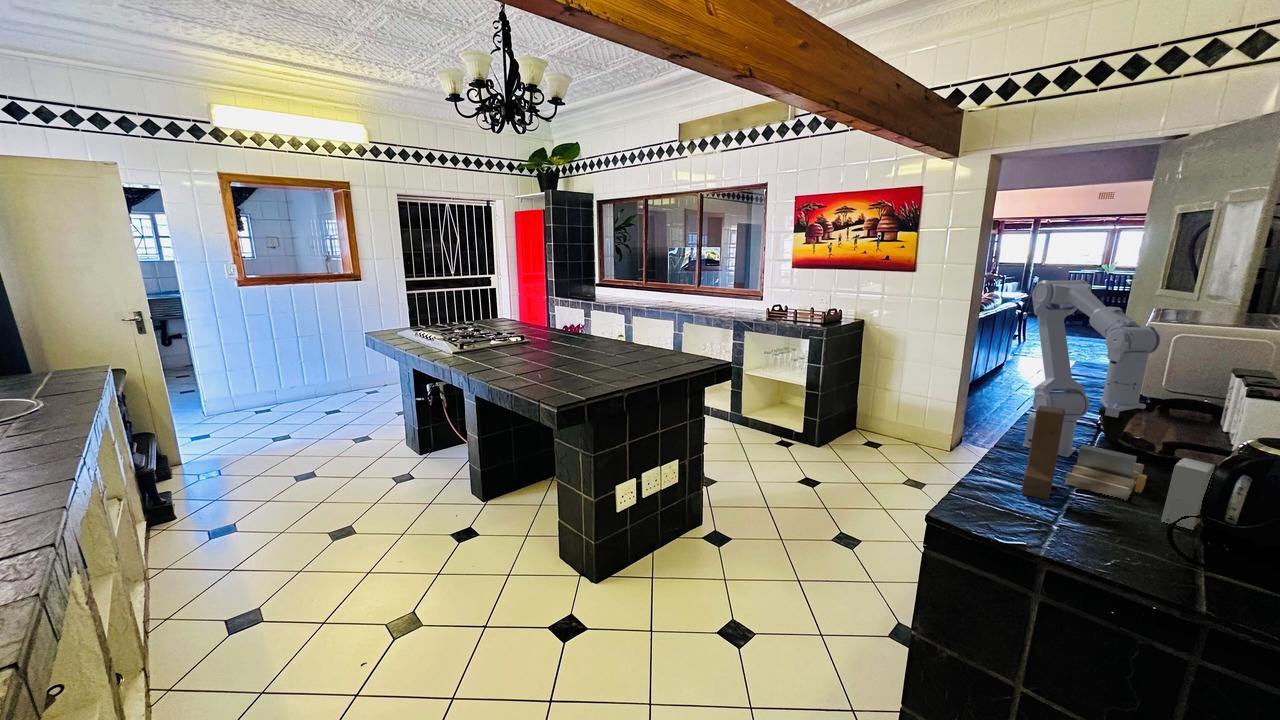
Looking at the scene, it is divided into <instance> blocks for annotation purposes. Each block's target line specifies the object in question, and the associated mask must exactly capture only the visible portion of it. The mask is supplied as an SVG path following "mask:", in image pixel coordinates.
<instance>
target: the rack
mask: <svg viewBox="0 0 1280 720" xmlns="http://www.w3.org/2000/svg"><path fill="white" fill-rule="evenodd" d="M1144 466H1145V464H1142V463H1139V462H1138V463H1137V462H1136V463H1135V467H1134V472H1133V477H1132V479H1129V478H1125V477H1121V476H1117V475H1113V474H1109V473H1105V472H1101V471H1097V470H1093V469H1089V468H1085V467H1081V466H1077V464H1074V465H1073V466H1072V472H1069V471H1067V472H1066V474H1065V479H1064V480H1065V481H1064V484H1065V485H1067V486H1071V487H1075V488H1079V489H1083V490H1086V491H1089V490H1090V491H1089V492H1094V493H1098V494H1100V493H1102V494H1101V495H1104V494H1105V495H1104V496H1107V495H1109V496H1108V497H1111V496H1113V497H1112V498H1115V497H1118V498H1121V499H1120V500H1122V499H1124V500H1123V501H1126V500H1127V501H1128V499H1129V497H1130V496H1129V495H1131V494H1132V493H1133V491H1135V493H1138V492H1139V493H1138V494H1141V493H1142V492H1143V490H1144V489H1145V487H1144V486H1146V483H1147V478H1148V475H1146V474H1143V472H1144ZM1135 485H1136V486H1135ZM1118 498H1117V499H1118Z"/></svg>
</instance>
